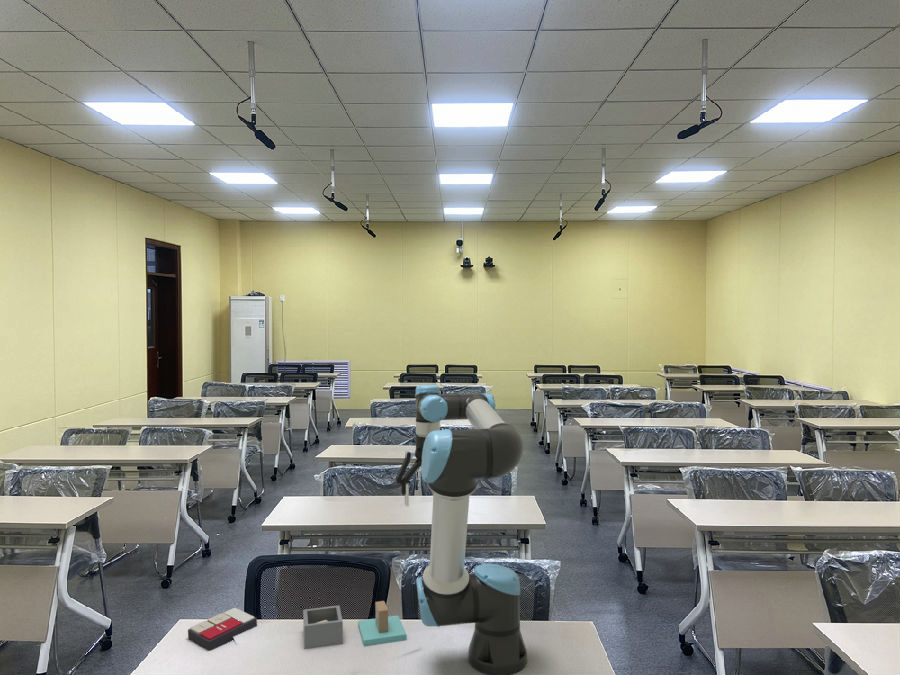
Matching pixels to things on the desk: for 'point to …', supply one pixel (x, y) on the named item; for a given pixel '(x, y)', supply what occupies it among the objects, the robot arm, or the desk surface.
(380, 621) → the lid
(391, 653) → the desk surface
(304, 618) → the storage box
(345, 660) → the desk surface
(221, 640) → the calculator
